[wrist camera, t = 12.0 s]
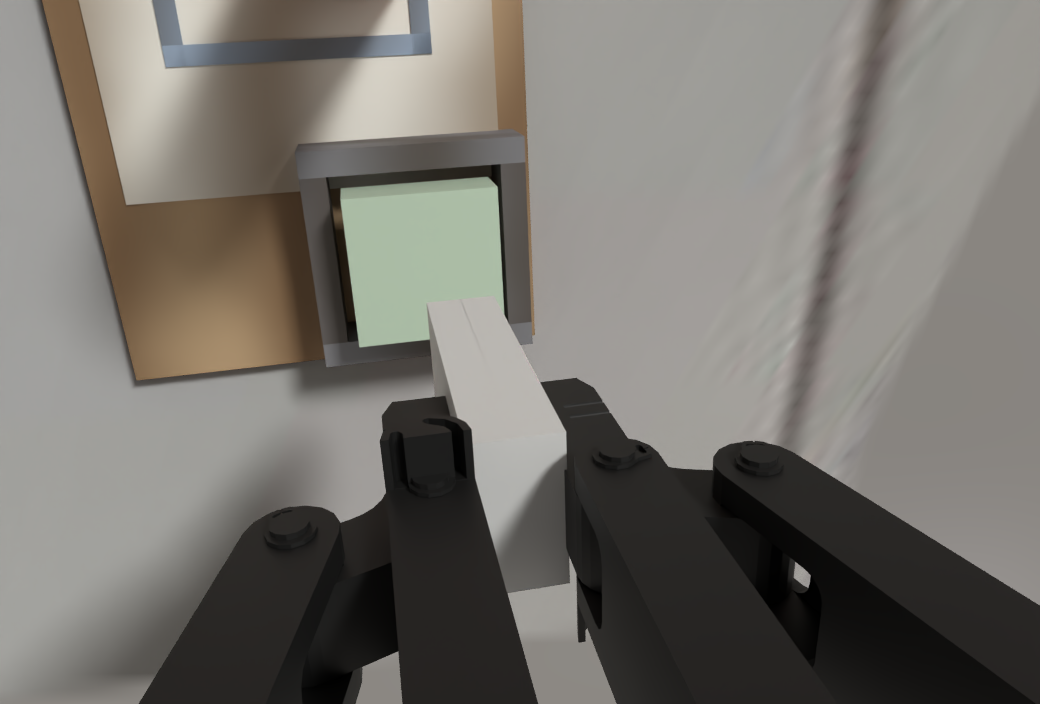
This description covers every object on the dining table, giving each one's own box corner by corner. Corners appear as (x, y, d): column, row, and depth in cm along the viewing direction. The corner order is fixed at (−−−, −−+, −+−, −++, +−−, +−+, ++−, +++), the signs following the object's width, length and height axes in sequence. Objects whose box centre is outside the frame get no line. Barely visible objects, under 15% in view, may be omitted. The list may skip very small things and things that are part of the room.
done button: (358, 327, 26) (359, 347, 25) (340, 188, 25) (340, 199, 23) (495, 312, 27) (505, 331, 26) (487, 176, 25) (497, 187, 24)
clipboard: (140, 373, 28) (121, 405, 26) (-37, -345, 20) (-86, -393, 18) (531, 329, 30) (546, 355, 28) (505, -329, 23) (523, -370, 20)
